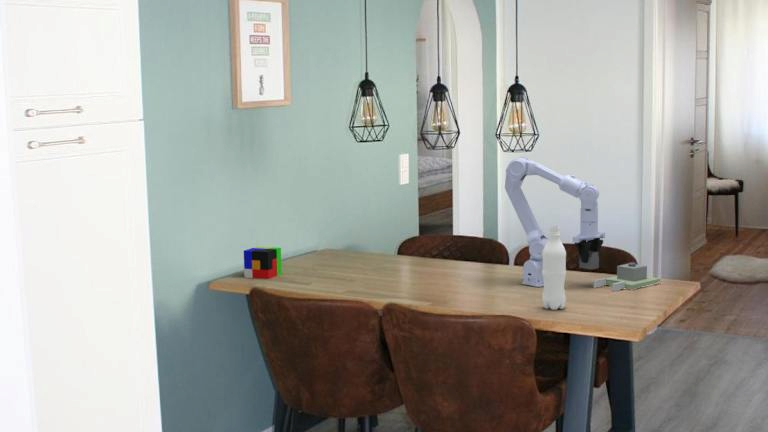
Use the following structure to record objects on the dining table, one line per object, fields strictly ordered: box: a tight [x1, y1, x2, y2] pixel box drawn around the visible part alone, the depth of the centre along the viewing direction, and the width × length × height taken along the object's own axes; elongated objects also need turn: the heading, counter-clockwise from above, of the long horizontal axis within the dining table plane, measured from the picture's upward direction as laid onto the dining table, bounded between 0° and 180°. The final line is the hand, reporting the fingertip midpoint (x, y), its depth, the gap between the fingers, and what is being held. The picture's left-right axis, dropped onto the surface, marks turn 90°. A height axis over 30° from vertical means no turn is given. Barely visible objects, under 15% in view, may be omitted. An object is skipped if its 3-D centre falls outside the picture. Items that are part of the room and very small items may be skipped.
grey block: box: [578, 251, 600, 270], centre depth 322 cm, size 4×5×6 cm
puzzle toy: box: [243, 246, 283, 280], centre depth 352 cm, size 10×10×10 cm
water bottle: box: [541, 225, 567, 311], centre depth 290 cm, size 7×7×25 cm
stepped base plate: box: [593, 261, 661, 292], centre depth 323 cm, size 21×13×7 cm, turn 129°
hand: (588, 261), depth 322 cm, fingers closed on grey block, 4 cm apart
